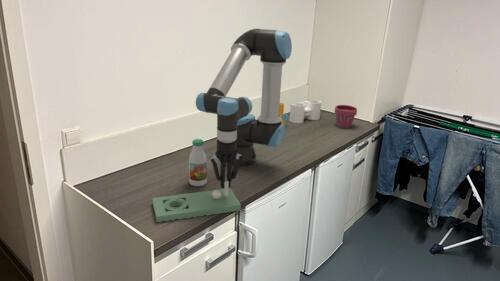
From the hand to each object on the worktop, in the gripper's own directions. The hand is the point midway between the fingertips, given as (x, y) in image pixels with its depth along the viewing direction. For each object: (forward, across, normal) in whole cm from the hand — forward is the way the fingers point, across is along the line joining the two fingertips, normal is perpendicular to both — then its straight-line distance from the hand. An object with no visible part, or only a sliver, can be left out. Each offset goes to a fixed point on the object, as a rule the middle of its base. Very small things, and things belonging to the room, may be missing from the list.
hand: (225, 194), depth 151 cm
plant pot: (+4, -105, -76) cm, 129 cm away
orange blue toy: (+4, -62, -85) cm, 105 cm away
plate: (+4, +12, 0) cm, 12 cm away
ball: (0, +4, 0) cm, 4 cm away
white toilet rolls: (+4, -86, -94) cm, 127 cm away
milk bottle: (+4, +7, -20) cm, 22 cm away
